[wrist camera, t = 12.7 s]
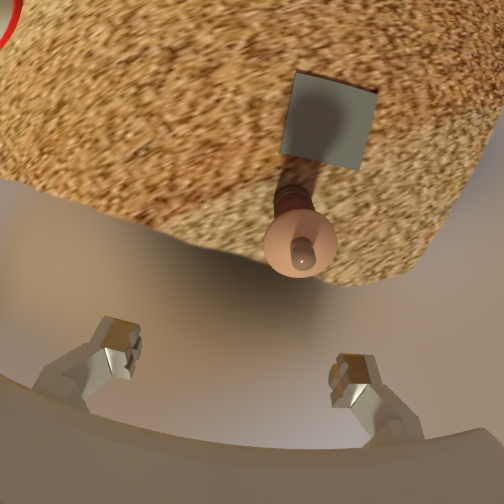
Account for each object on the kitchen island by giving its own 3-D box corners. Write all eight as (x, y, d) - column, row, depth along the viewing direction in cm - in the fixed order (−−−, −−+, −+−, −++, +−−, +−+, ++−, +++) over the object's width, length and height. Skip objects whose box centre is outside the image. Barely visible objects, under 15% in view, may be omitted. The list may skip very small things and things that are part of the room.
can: (301, 176, 47) (314, 211, 35) (315, 209, 50) (331, 253, 38) (266, 190, 49) (267, 230, 37) (282, 222, 52) (287, 269, 40)
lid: (270, 203, 35) (271, 218, 32) (344, 215, 36) (352, 231, 32) (258, 267, 40) (258, 287, 36) (325, 276, 40) (330, 296, 37)
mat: (295, 72, 39) (296, 72, 38) (376, 94, 40) (378, 94, 39) (279, 152, 46) (279, 153, 45) (357, 169, 46) (358, 170, 46)
